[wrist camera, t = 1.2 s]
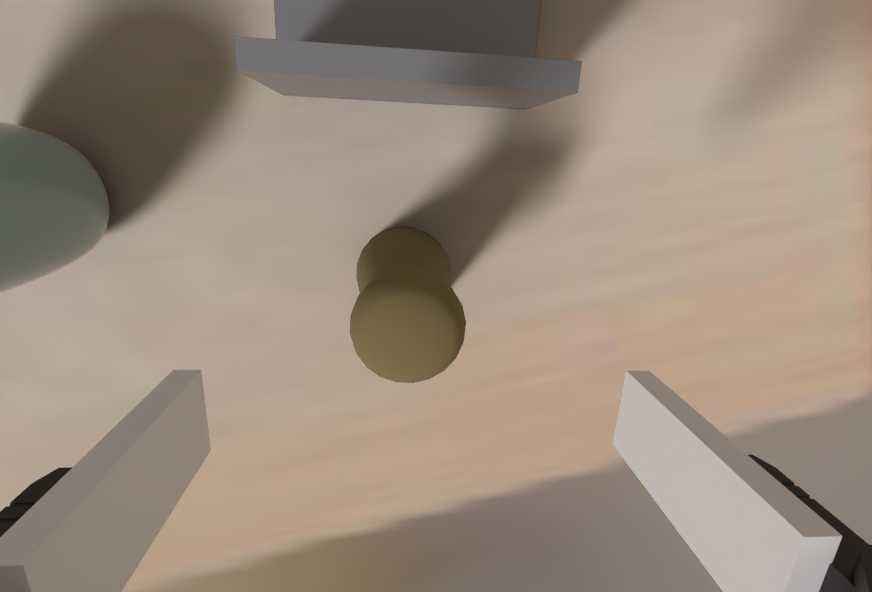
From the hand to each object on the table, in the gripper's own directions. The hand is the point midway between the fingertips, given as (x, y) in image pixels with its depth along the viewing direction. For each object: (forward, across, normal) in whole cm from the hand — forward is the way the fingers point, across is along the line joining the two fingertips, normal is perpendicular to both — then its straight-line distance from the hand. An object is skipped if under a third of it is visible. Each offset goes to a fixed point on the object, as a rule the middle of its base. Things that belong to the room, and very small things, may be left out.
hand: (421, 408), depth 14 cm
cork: (+16, 0, 0) cm, 16 cm away
